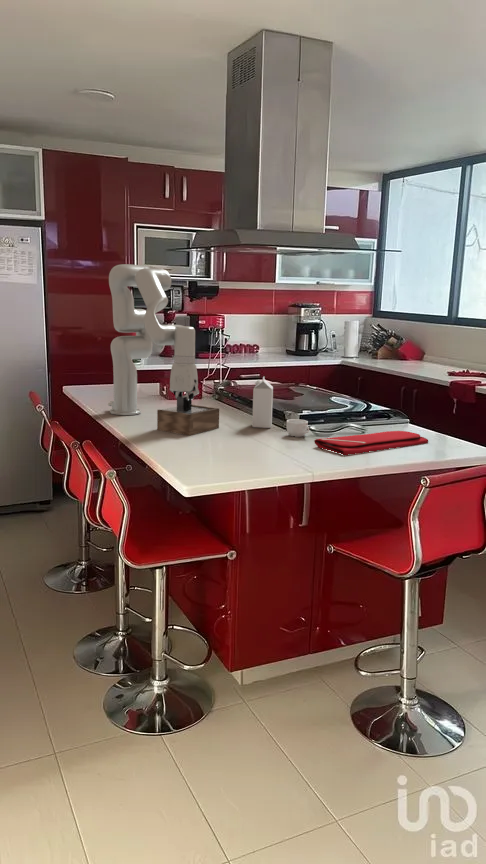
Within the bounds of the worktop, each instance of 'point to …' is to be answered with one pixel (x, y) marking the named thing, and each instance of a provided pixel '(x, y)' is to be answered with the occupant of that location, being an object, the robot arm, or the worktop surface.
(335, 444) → the dish drying mat
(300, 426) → the teacup
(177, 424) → the walnut box
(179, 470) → the worktop surface
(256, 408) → the milk carton
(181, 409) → the cover plate
